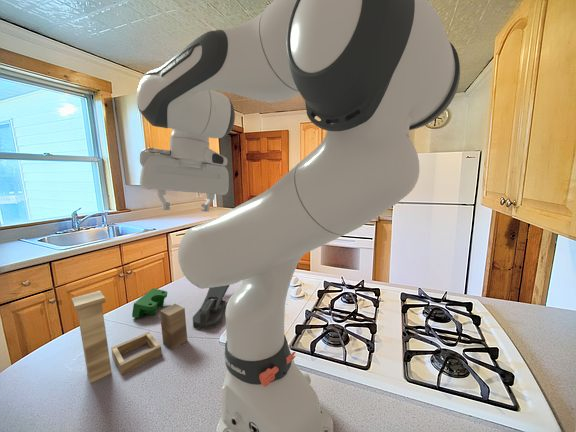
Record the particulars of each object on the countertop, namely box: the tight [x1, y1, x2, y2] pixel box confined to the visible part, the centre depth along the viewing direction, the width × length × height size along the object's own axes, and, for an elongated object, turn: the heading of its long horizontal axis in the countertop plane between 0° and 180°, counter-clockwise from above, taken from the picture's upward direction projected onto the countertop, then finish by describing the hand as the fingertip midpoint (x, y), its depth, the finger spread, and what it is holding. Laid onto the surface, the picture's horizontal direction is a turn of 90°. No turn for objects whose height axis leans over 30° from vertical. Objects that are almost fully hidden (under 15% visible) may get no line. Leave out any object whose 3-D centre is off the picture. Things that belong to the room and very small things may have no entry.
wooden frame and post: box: [71, 290, 163, 384], centre depth 61 cm, size 9×15×19 cm, turn 137°
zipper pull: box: [192, 285, 230, 330], centre depth 87 cm, size 9×7×25 cm
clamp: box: [131, 287, 168, 319], centre depth 86 cm, size 12×6×9 cm, turn 173°
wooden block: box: [159, 303, 188, 351], centre depth 69 cm, size 4×4×10 cm
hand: (186, 210), depth 62 cm, fingers open, 8 cm apart
